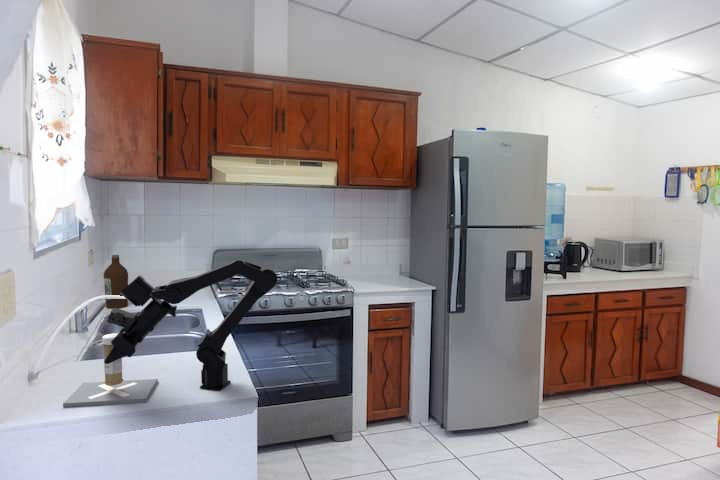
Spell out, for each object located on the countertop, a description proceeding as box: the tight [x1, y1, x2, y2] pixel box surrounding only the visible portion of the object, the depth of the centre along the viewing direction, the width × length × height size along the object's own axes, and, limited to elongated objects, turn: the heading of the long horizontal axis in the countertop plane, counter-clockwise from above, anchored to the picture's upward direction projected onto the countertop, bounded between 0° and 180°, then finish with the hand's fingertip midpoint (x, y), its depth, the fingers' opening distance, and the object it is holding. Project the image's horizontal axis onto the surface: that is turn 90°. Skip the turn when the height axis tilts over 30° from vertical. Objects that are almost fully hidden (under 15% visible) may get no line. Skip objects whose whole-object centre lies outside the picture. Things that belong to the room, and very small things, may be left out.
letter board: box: [62, 378, 159, 408], centre depth 134 cm, size 20×14×1 cm
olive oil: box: [103, 254, 129, 310], centre depth 236 cm, size 11×11×25 cm
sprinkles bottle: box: [101, 332, 124, 386], centre depth 134 cm, size 5×5×13 cm
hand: (107, 360), depth 133 cm, fingers closed on sprinkles bottle, 4 cm apart
